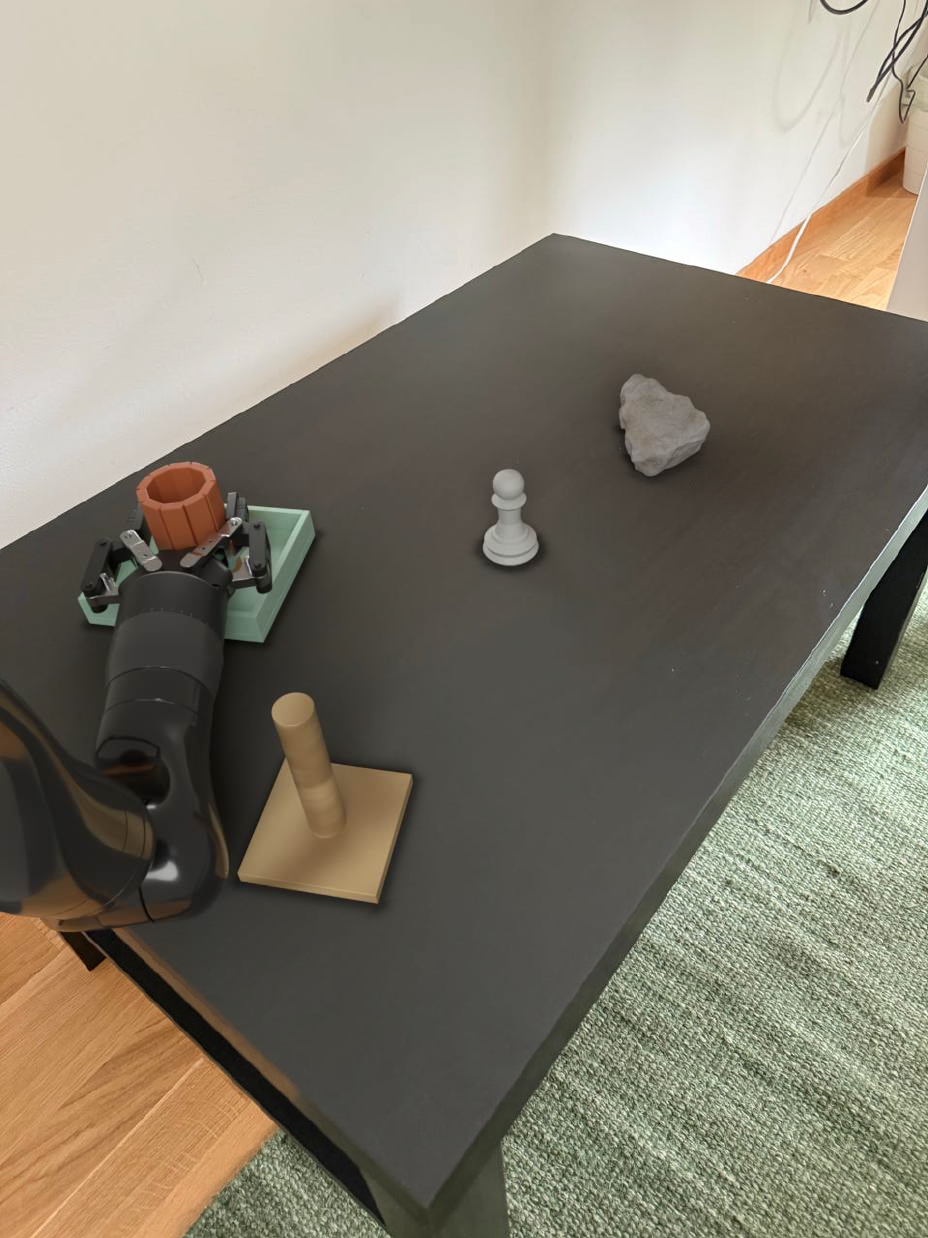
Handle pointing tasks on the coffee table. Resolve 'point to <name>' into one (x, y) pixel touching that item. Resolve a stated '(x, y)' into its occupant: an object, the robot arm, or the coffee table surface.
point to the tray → (247, 606)
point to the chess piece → (509, 523)
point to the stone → (659, 425)
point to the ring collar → (182, 505)
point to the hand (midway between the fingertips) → (190, 506)
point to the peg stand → (324, 816)
